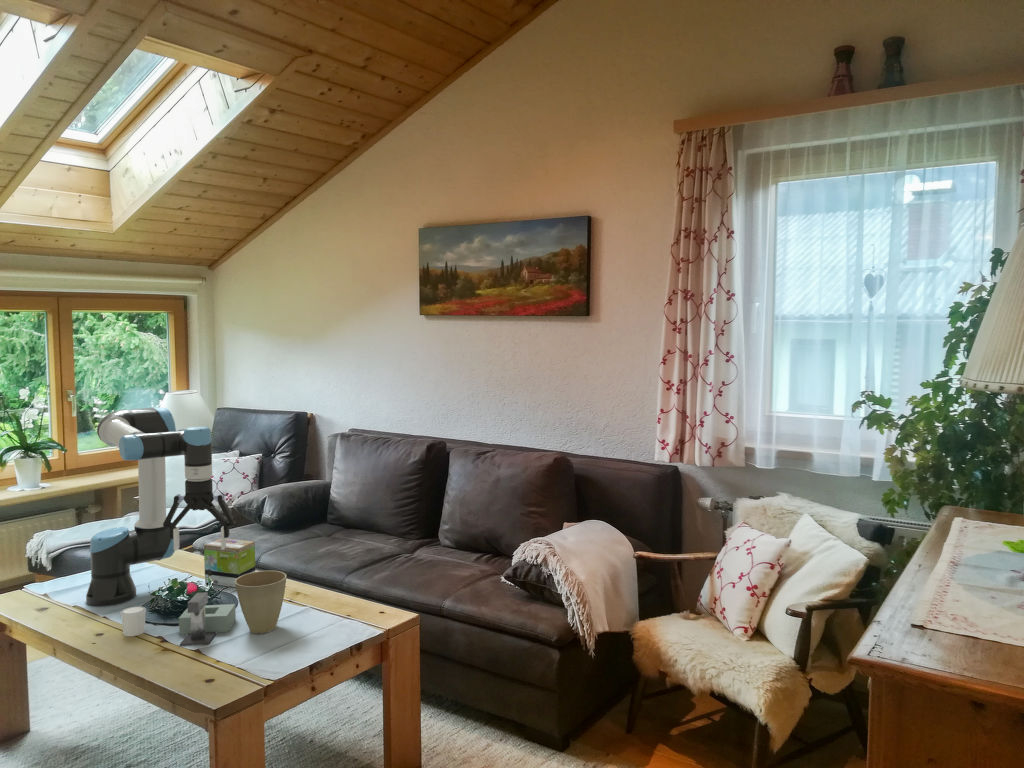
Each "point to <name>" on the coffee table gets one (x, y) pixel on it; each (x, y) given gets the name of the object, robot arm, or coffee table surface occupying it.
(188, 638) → the rubber mat
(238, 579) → the plant pot
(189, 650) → the coffee table surface
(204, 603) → the chuck key
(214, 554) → the tea box
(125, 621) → the white cylinder
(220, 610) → the block
